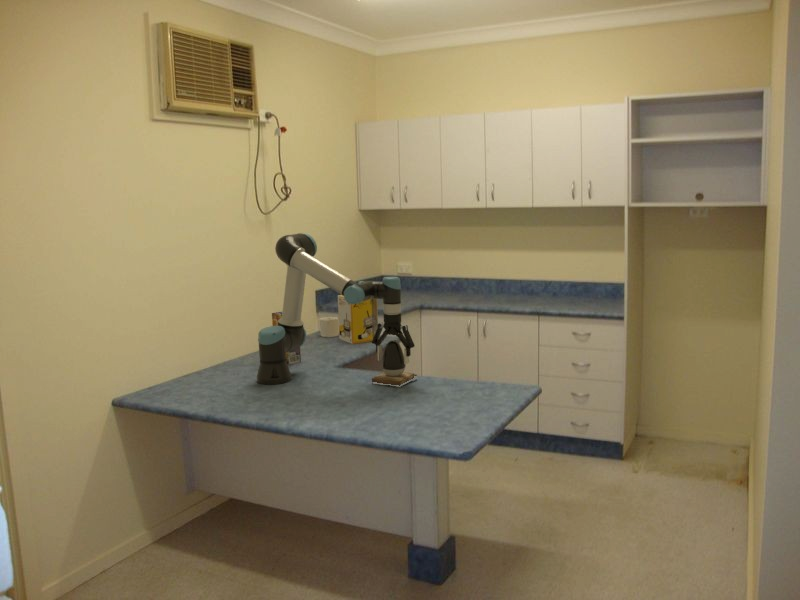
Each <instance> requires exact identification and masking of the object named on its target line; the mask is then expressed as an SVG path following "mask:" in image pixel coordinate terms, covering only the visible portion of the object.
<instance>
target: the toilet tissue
mask: <svg viewBox="0 0 800 600" xmlns="http://www.w3.org/2000/svg"><path fill="white" fill-rule="evenodd" d="M319 327H320V328H319V329H320V332H319V333H320V337H323V338H334V337H338V336H339V317H337V316H336V317H335V316H327V317H320V318H319Z"/></svg>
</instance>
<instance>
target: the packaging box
mask: <svg viewBox="0 0 800 600" xmlns="http://www.w3.org/2000/svg"><path fill="white" fill-rule="evenodd" d="M378 310H379V309H378V299H369V300H366V301H363V302H361V303H358V304H349V303H348V302H346V300H345V298H344V296H343V295H341V294H340V295H339V294H338V295H337V312H338V324H339V335H338V336H339V337H338V338H339V340H340V341H344V342H345V343H346V342H347V343H348V344H352V345H354V344H361V343H366V342H367V343H368V342H369V343H370V342H372V340H373V338H374V335H375V333H376V331H377V328H378V324H379V321H378V319H379V318H378V317H379V316H378V315H379V313H378V312H379V311H378Z"/></svg>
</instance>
